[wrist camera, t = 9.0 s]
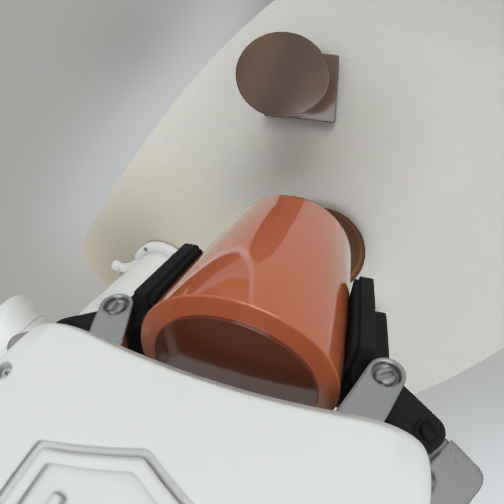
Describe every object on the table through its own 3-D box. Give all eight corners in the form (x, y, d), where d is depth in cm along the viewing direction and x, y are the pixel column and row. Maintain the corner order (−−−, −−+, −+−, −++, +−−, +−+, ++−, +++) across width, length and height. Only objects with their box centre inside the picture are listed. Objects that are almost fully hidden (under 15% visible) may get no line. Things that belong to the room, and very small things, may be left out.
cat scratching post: (266, 115, 32) (229, 119, 22) (269, 52, 28) (232, 28, 18) (334, 122, 30) (330, 128, 20) (339, 57, 26) (335, 30, 16)
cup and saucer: (365, 283, 38) (366, 311, 33) (281, 285, 42) (271, 312, 37) (361, 199, 33) (364, 217, 28) (267, 206, 37) (253, 224, 32)
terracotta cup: (228, 293, 17) (158, 401, 10) (228, 186, 14) (118, 272, 7) (337, 316, 16) (313, 448, 9) (362, 207, 12) (371, 331, 6)
